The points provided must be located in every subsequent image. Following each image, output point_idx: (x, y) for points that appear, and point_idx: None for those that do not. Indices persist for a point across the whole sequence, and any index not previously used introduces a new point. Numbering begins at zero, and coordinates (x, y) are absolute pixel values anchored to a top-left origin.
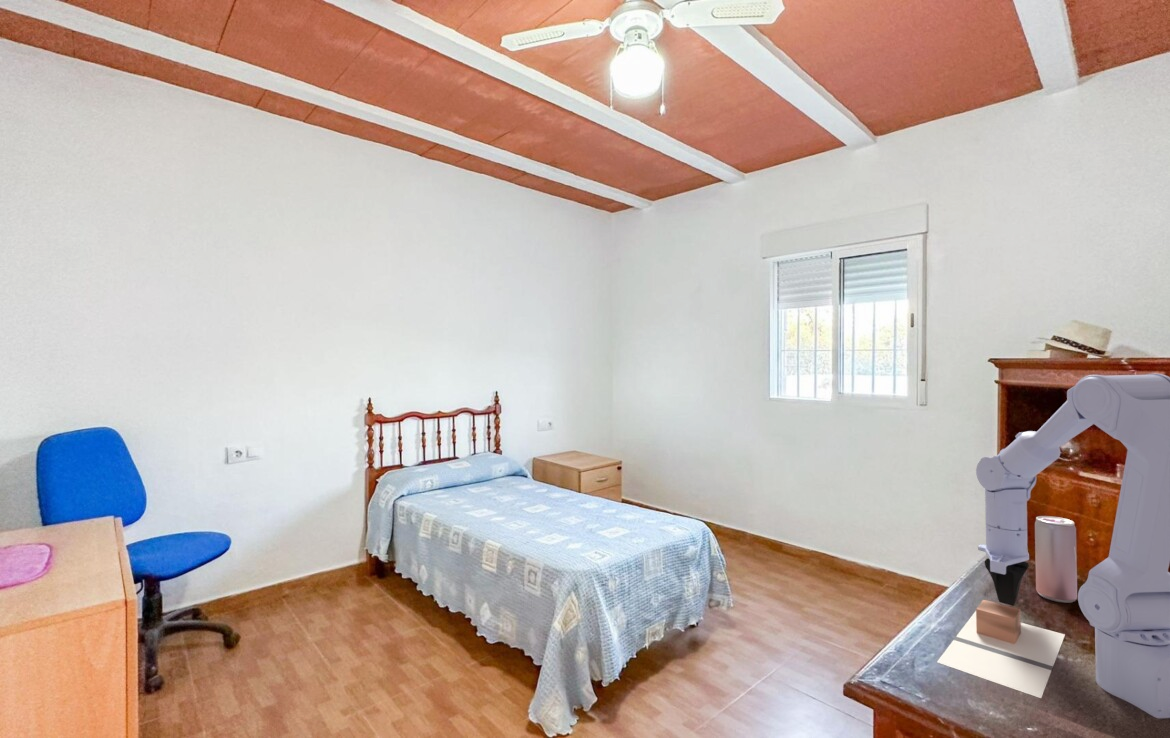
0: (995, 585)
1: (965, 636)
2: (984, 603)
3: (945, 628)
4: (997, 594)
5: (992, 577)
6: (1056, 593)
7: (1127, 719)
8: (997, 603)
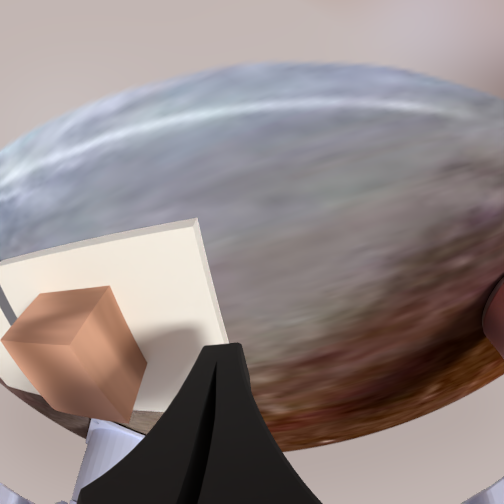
0: (170, 408)
1: (7, 281)
2: (47, 353)
3: (26, 205)
4: (191, 370)
5: (138, 446)
6: (491, 327)
7: (77, 430)
8: (92, 382)
